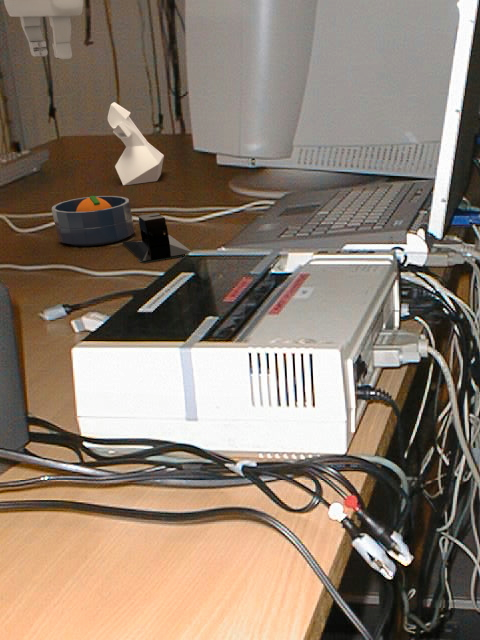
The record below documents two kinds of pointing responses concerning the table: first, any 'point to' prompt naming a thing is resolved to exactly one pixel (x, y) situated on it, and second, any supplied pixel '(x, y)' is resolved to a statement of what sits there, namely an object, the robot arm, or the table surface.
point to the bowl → (93, 222)
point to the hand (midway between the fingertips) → (51, 57)
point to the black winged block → (155, 241)
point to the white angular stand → (134, 150)
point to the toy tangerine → (93, 204)
